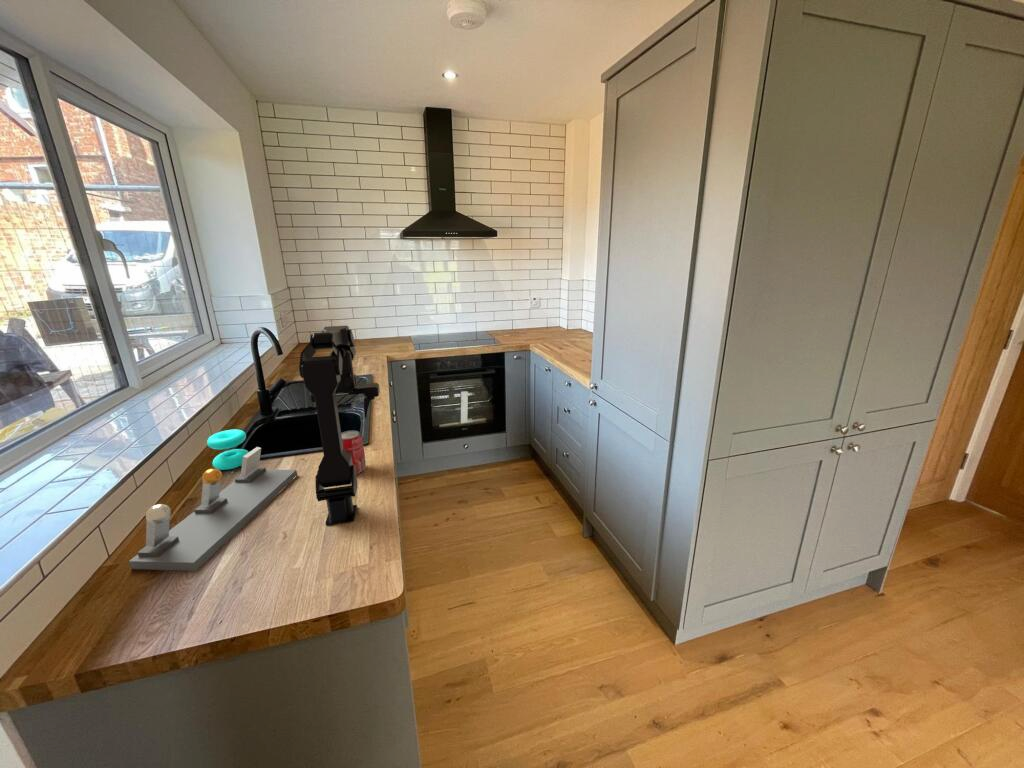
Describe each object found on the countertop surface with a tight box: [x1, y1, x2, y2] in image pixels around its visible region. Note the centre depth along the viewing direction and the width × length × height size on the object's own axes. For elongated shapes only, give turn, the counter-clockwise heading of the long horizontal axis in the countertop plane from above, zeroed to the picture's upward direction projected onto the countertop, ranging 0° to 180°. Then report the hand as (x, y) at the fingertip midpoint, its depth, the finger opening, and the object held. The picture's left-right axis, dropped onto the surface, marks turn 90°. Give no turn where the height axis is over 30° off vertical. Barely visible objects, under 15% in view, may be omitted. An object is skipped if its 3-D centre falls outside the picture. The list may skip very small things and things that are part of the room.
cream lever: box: [145, 503, 172, 547], centre depth 86 cm, size 4×4×9 cm
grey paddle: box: [240, 446, 262, 476], centre depth 115 cm, size 1×6×6 cm, turn 178°
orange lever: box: [200, 468, 223, 506], centre depth 100 cm, size 4×4×9 cm
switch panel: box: [128, 466, 298, 571], centre depth 102 cm, size 14×38×3 cm, turn 177°
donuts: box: [206, 428, 250, 471], centre depth 127 cm, size 10×10×10 cm
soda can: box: [341, 430, 367, 475], centre depth 121 cm, size 7×7×12 cm
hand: (349, 419), depth 123 cm, fingers open, 9 cm apart
